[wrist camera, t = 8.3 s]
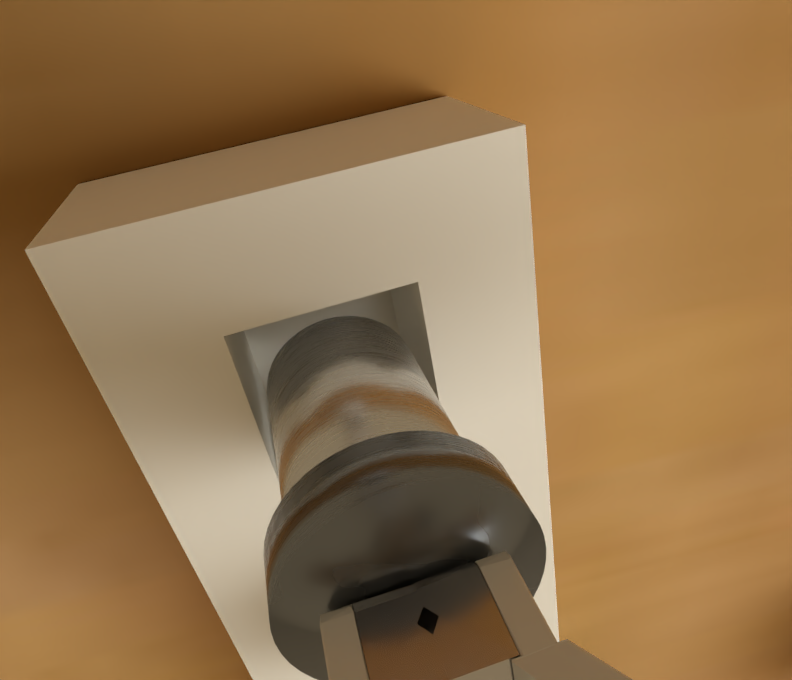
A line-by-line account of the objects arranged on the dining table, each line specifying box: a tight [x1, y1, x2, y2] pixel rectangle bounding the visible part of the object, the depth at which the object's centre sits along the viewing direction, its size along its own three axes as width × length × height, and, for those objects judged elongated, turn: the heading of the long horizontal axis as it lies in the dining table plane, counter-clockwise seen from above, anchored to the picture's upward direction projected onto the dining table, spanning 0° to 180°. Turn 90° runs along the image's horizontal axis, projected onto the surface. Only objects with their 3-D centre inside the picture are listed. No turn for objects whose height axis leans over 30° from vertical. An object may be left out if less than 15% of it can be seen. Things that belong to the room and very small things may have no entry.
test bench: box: [25, 96, 559, 680], centre depth 21 cm, size 26×10×5 cm, turn 11°
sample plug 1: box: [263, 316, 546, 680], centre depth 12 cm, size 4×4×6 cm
